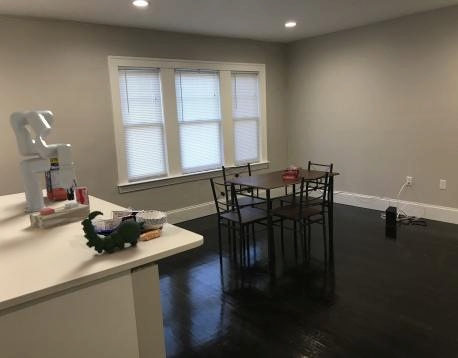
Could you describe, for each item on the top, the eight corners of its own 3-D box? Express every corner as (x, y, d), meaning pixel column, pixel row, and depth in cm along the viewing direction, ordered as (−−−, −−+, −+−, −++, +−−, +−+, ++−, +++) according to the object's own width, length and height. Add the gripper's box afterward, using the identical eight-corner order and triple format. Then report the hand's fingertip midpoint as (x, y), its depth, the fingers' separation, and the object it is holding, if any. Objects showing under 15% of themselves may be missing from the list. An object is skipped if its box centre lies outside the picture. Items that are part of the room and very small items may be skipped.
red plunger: (40, 217, 192) (39, 210, 191) (50, 215, 196) (49, 207, 195) (46, 218, 189) (44, 211, 189) (55, 216, 193) (54, 208, 193)
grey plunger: (65, 210, 203) (64, 203, 203) (74, 208, 207) (73, 201, 207) (71, 211, 200) (70, 204, 200) (79, 209, 204) (78, 202, 204)
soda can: (85, 209, 220) (83, 188, 218) (75, 209, 221) (72, 188, 219) (92, 206, 227) (89, 186, 224) (81, 206, 228) (79, 186, 226)
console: (31, 225, 193) (29, 214, 192) (76, 213, 213) (74, 203, 212) (45, 229, 185) (43, 217, 184) (90, 215, 205) (89, 205, 204)
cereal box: (70, 199, 252) (65, 152, 247) (52, 201, 246) (46, 154, 241) (62, 194, 274) (58, 151, 269) (46, 196, 268) (41, 152, 263)
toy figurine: (94, 264, 141) (153, 242, 155) (83, 217, 136) (145, 199, 150) (87, 257, 148) (144, 237, 162) (76, 213, 144) (136, 196, 158)
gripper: (52, 167, 201) (57, 200, 204) (68, 168, 192) (72, 202, 195) (65, 165, 207) (69, 197, 210) (81, 166, 198) (85, 199, 201)
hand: (71, 200), depth 203 cm, fingers closed
